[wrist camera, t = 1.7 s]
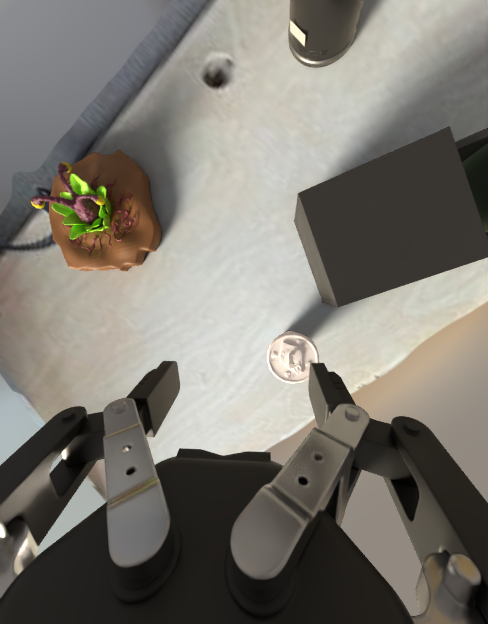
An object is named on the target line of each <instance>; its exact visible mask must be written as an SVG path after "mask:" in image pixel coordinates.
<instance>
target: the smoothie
mask: <svg viewBox="0 0 488 624" xmlns="http://www.w3.org/2000/svg"><path fill="white" fill-rule="evenodd" d="M267 361H268V365H269V368H270V370H271V372H272V373H273V374H274V375H275V376H276V377H277V378H278V379H280V380H282V381H284V382H287V383H301V382H304V381H306V380H308V379H309V370H310V363H319V355H318V351H317V348H316V346H315V344H314V343H313V342H312V340H311V339H309V338H308V337H307V336H305V335H303V334H301V333H296V332H293V331H288V332H285V333H284V334H281V335H279V336H278V337H276V338H275V339H274V340H273V341H272V343H271V344H270V346H269V348H268V353H267Z"/></svg>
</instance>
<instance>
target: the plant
mask: <svg viewBox="0 0 488 624" xmlns="http://www.w3.org/2000/svg"><path fill="white" fill-rule="evenodd" d="M58 173H59V174H58V175H57V176H56V177H55V178H54V181H53V187H52V192H51V196H34V197H32V198H31V203H32V205H33V206H35V207H36V208H43V207H44V206H45V203H44V200H46V201H50V202H49V218H50V222H51V229H52V235H53V239H54V241H55V242H56V243H57V244H58V245H59V246H60V248H61V250H62V252H63V255H64V257H65V259H66V262H67V264H68V267H69V268H73V269H77V270H83V271H90V270H110V269H115V268H117V269H118V270H120V271H128V270H129V268H130V267H131V266H135V265H136V266H139V265H141V264H143V262H144V258H145V254H146V252H148V251H152V252H154V251H156V249H157V247H158V245H159V242H160V239H161V227H160V224H159V221H158V218H157V216H156V214H155V212H154V209H153V205H152V201H151V196H150V191H149V184H150V182H149V178H148V177H147V176H146V175H145V174H144V172H143V170H142V169H141V168H140V166H139V165H138V164H136V163H135V162H134V161H133V160H131V159H130V158H129V157H128V156H127V155H125V154H124V153H123V152H122V151H121V150H118V151H116V152H115V153H114V154H111V155H102V154H99V153H97V152H94V153H92V154H90V155H88V156H87V157H86V158H84V159H82V160H81V161H79V162H77V163H75V164H73V165H71V166H70V165H69V164H68V163H66V162H62V163H60V164H59V166H58Z"/></svg>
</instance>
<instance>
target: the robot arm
mask: <svg viewBox="0 0 488 624" xmlns="http://www.w3.org/2000/svg"><path fill="white" fill-rule="evenodd" d="M363 2H364V0H290V22H289V46H290V49H291V52H292V54H293V55H294V57H295V58H296V59H297V60H298V61H299V62H300V63H302V64H304V65H306V66H309V67H323V66H326V65H329V64H331V63H333V62H335V61H337V60H338V59H339V58H340V57H342V56H343V55H344V54H345V53H346V51H347V50H348V49H349V47H350V46H351V44H352V42H353V40H354V37H355V34H356V30H357V26H358V20H359V16H360V13H361V9H362V5H363ZM179 390H180V380H179V373H178V366H177V362H176V361H163V362H162V363H161V364H160V365H159V367H158V368H157V369H153V370H152V371H150V372H149V373H147V374H146V375H145V376H144V377H143V379H142V380H141V381H140V382H139V383H138V385H137V386H136V387H135V388H134V389H133V390H132V391H131V392H130V394H129V395H128V396H127V397H126V398H122V399H118V400H116V401H114V402H112V403H110V404H109V405H108V406H106V408H105V409H104V411H103V412H99V413H93V414H88V415H87V412H86V409H85V408H84V407H81V406H76V407H71V408H68V409H66V410H63V411H61V412H60V413H58V414H57V415H55V416H54V417H53V418H52V419H51V420H50V421H49V422H48V423H46V424H45V425H44V426H43V427H42V428H41V429H40V430H39V431H38V432H37V433H36V434H34V436H32V437H31V438H30V439H29V440H28V441H27V442H26V443H24V444H23V445H22V446H21V447H20V448H19V449H18V450H17V451H16V452H15V453H14V454H12V455H11V456H10V457H9V458H8V459H7V460H6V461H5V462H4V463H3V464H1V466H0V624H488V503H487V502H486V500H485V499H484V498H483V496H482V495H481V494H480V493H479V491H478V490H477V489H476V488H475V486H474V485H473V484H472V482H471V481H470V480H469V479H468V477H467V476H466V475H465V474H464V472H463V471H462V470H461V468H460V467H459V466H458V465H457V463H456V462H455V461H454V460H453V458H452V457H451V456H450V454H449V453H448V452H447V451H446V449H445V448H444V447H443V446H442V444H441V443H440V442H439V440H438V439H437V438H436V437H435V435H434V434H433V433H432V431H431V430H430V429H429V428H428V427H426V425H424V424H423V423H421V422H419V421H417V420H415V419H413V418H410V417H404V416H399V417H395V418H393V420H392V422H391V424H388V423H384V422H380V421H376V420H374V419H371V418H370V417H369V415H368V413H367V412H366V411H365V410H364V409H362V408H361V407H359V406H357V405H356V404H355V402H354V401H353V399H352V397H351V395H350V393H349V392H348V390H347V388H346V386H345V384H344V382H343V381H342V379H341V377H340V376H339V375H337V374H336V373H335V372H328V371H327V368H326V366H325V364H324V363H310V370H309V397H310V400H311V404H312V407H313V411H314V414H315V418H316V421H317V424H318V428H319V429H317V428H313V429H312V430H311V432H310V433H309V434H308V436H307V437H306V438H305V440H304V441H303V442H302V444H301V445H300V446H299V447H298V449H297V450H296V451H295V453H294V454H293V455H292V456H291V458H290V459H289V460H288V462H287V463H286V464H285V465H284V466H283V465H281V464H279V463H276V462H273V461H271V460H270V459H271V458H270V453H269V452H268V453H267V452H248V451H247V452H242V453H237V454H231V455H226V456H222V455H218V454H215V453H211V452H208V451H205V450H201V449H180V448H179V451H178V453H177V456H176V457H172V458H169V459H166V460H164V461H161V462H160V463H158V464H156V465H154V462H153V458H152V455H151V452H150V448H149V445H148V441H147V438H146V437H155V435H156V433H157V432H158V430H159V428H160V426H161V424H162V422H163V421H164V419H165V417H166V415H167V413H168V412H169V410H170V408H171V406H172V404H173V403H174V401H175V399H176V397H177V395H178V393H179ZM60 454H61V455H62V458H63V459H62V460H61V461H60V462H59V464H58V465H57V466H56V467H55V468H54V470H53V471H52V472H51V473H50V474H49V472H50V468H51V466H52V464H53V462H54V461H55V460H56V458H57V457H58V456H59V455H60ZM104 458H105V472H106V486H107V500H108V501H107V502H106V503H105V504H104V505H102V506H101V507H100V508H98V509H97V510H96V511H95V512H93V513H92V514H91V515H89V516H88V517H87V518H86V519H84V520H83V521H82V522H81V523H79V524H78V525H77V526H75V527H74V528H73V529H71V530H70V531H69V532H67V533H66V534H65V535H64V536H62V537H61V538H60V539H59V540H57V541H56V542H55V543H53V544H52V545H51V546H49V547H48V548H47V549H46V550H44V551H43V552H42V553H41V554H39V555H38V546H39V545H40V543H41V542H42V540H43V539H44V537H45V536H46V534H47V533H48V531H49V530H50V529H51V527H52V526H53V524H54V523H55V521H56V520H57V518H58V517H59V515H60V514H61V513H62V511H63V510H64V508H65V507H66V505H67V504H68V502H69V501H70V499H71V498H72V496H73V495H74V493H75V492H76V491H77V489H78V487H79V486H80V485H81V483H82V482H83V480H84V479H85V478H86V476H87V475H88V473H89V472H90V470H91V469H92V467H93V466H94V464H95V463H96V461H97V460H100V459H104ZM361 470H365V471H368V472H371V473H374V474H377V475H380V476H383V477H384V480H385V482H386V484H387V487H388V489H389V491H390V494H391V496H392V498H393V500H394V503H395V505H396V507H397V510H398V512H399V514H400V516H401V519H402V521H403V523H404V526H405V528H406V530H407V533H408V535H409V537H410V540H411V542H412V544H413V546H414V549H415V551H416V553H417V556H418V558H419V560H420V563H421V565H422V569H421V572H420V575H419V579H418V582H417V586H416V597H417V601H418V605H419V609H420V615H417V616H410V614H409V612H408V611H407V609H406V607H405V605H404V604H403V602H402V601H401V599H400V598H399V596H398V595H397V593H396V592H395V591H394V590H393V588H392V587H391V586H390V585H389V583H388V582H387V581H386V580H385V579H384V577H382V575H381V574H380V573H379V572H378V571H377V569H376V568H375V567H374V566H373V565H372V563H371V562H370V561H369V560H368V559H367V558H366V557H365V555H364V554H363V553H362V552H361V551H360V550H359V548H358V547H357V546H356V545H355V544H354V543H353V542H352V541H351V539H350V538H349V537H348V536H347V534H346V533H345V532H344V531H343V530H342V529H341V527H340V526H341V523H342V520H343V517H344V513H345V509H346V506H347V503H348V500H349V498H350V496H351V493H352V491H353V489H354V487H355V484H356V482H357V480H358V477H359V475H360V473H361ZM37 555H38V556H37Z"/></svg>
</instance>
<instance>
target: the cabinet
mask: <svg viewBox="0 0 488 624" xmlns="http://www.w3.org/2000/svg"><path fill="white" fill-rule="evenodd" d="M294 222H295V225H296V228H297V231H298V234H299V236H300V239H301V242H302V245H303V248H304V251H305V253H306V256H307V259H308V262H309V265H310V267H311V270H312V273H313V276H314V279H315V282H316V284H317V287H318V290H319V293H320V296H321V299H322V301H323V303H326V304H329V305H333V306H336V307H340V306H343V305H346V304H349V303H352V302H355V301H358V300H361V299H364V298H367V297H370V296H373V295H376V294H379V293H382V292H385V291H388V290H391V289H394V288H397V287H400V286H403V285H406V284H409V283H412V282H415V281H418V280H421V279H424V278H427V277H430V276H433V275H436V274H439V273H442V272H445V271H448V270H451V269H454V268H457V267H460V266H463V265H466V264H469V263H472V262H475V261H478V260H481V259H484V258H487V257H488V239H487V236H486V233H485V230H484V227H483V224H482V221H481V218H480V215H479V212H478V209H477V206H476V203H475V200H474V198H473V195H472V192H471V189H470V186H469V183H468V180H467V177H466V174H465V171H464V168H463V165H462V162H461V159H460V156H459V153H458V150H457V147H456V144H455V141H454V138H453V135H452V132H451V129H450V127H447V128H445V129H443V130H440V131H438V132H436V133H434V134H431V135H429V136H427V137H425V138H422V139H420V140H418V141H415V142H413V143H411V144H409V145H406V146H404V147H402V148H400V149H397V150H395V151H393V152H390V153H388V154H386V155H384V156H381V157H379V158H377V159H375V160H372V161H370V162H368V163H366V164H363V165H361V166H359V167H356V168H354V169H352V170H350V171H347V172H345V173H343V174H341V175H338V176H336V177H334V178H331V179H329V180H327V181H325V182H322V183H320V184H318V185H316V186H313V187H311V188H309V189H306V190H304V191H302V192H300V193H298V198H297V205H296V212H295V220H294Z"/></svg>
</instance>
